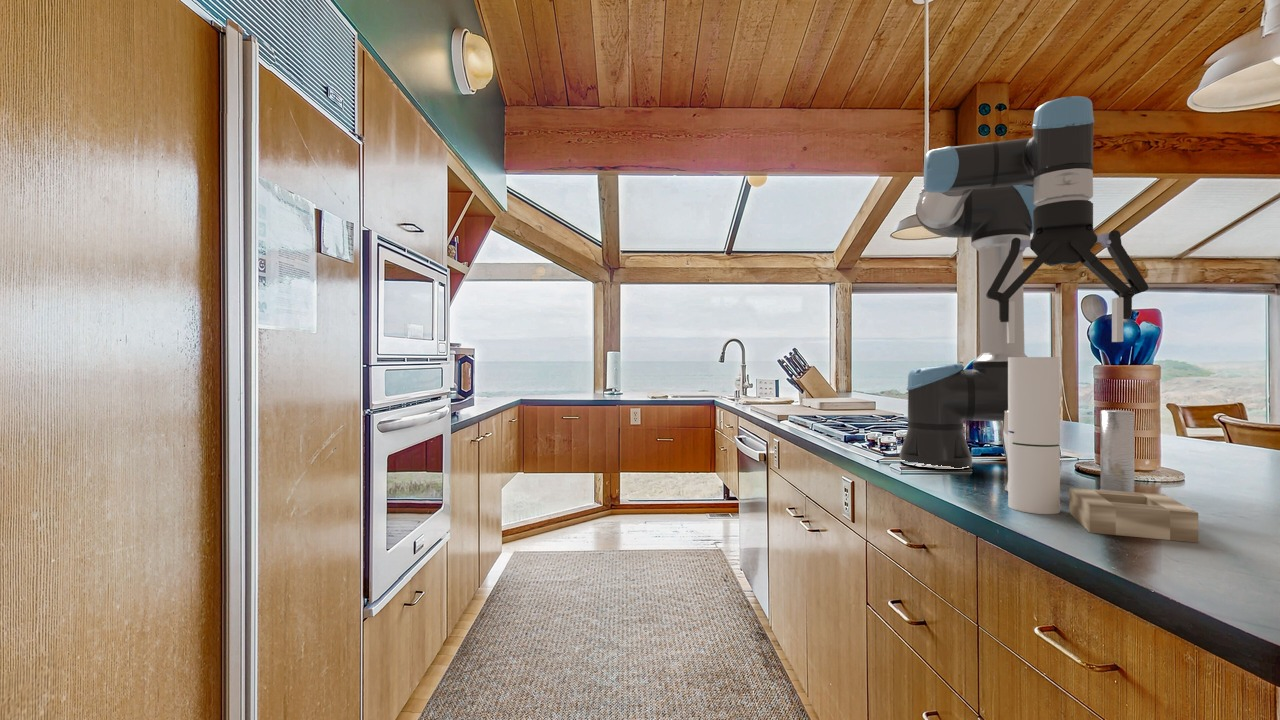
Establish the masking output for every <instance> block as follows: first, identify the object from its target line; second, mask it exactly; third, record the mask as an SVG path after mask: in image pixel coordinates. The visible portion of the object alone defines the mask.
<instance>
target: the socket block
mask: <svg viewBox="0 0 1280 720" xmlns="http://www.w3.org/2000/svg"><path fill="white" fill-rule="evenodd" d="M1068 489H1069V490H1068V491H1069V492H1068V493H1069V495H1068V497H1069V499H1068V500H1069V501H1068V503H1069V504H1068V505H1069V507H1068V510H1069V515H1071V516H1072V517H1073V518H1074V519H1075V520H1076V521H1077V522H1078V523H1079V524H1080V525H1081V526H1082V527H1083V528H1085V530H1086V531H1088V533H1090V534H1100V535H1110V536H1111V535H1112V536H1122V537H1134V538H1143V539H1144V538H1145V539H1156V540H1166V541H1177V542H1187V543H1188V542H1189V543H1199V512H1197V511H1195V510H1194V509H1192V508H1191V507H1188V506H1186V505H1185V504H1182V502H1180V501H1177V500H1175V499H1174V498H1171V496H1170V497H1169V496H1168V495H1166V494H1164V493H1162V494H1161V493H1148V492H1147V493H1145V492H1138V491H1136V492H1135V491H1134V492H1122V491H1108V490H1101V489H1091V488H1079V487H1077V488H1076V487H1075V488H1074V487H1068Z"/></svg>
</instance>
